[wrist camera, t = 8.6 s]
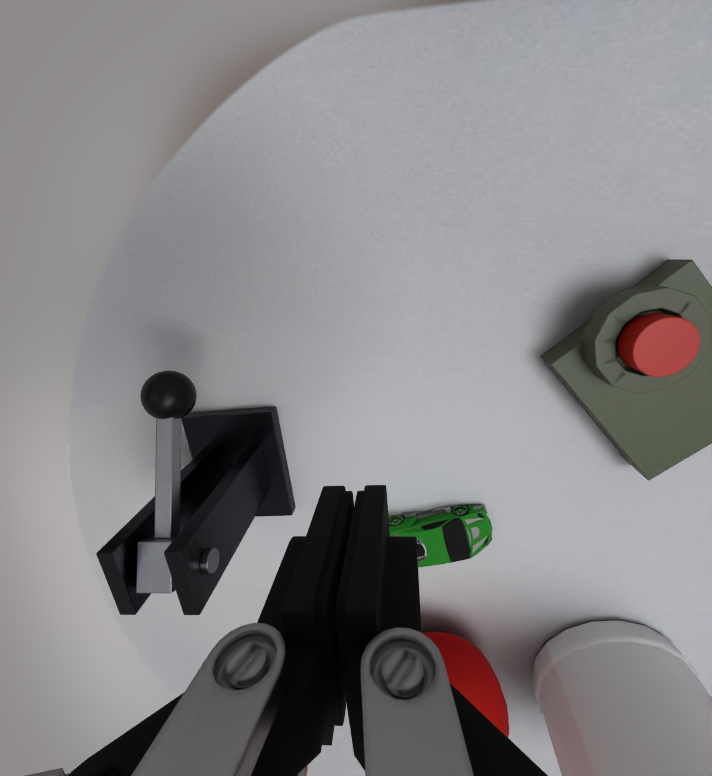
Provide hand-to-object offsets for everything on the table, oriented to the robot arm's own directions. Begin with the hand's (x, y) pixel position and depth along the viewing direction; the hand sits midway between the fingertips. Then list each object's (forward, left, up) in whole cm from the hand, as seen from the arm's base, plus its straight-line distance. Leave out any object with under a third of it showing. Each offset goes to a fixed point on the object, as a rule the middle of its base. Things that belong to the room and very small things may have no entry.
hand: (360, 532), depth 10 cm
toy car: (+10, +14, -21) cm, 27 cm away
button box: (-11, +16, -21) cm, 28 cm away
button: (-12, +12, -17) cm, 24 cm away
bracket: (+16, -3, -21) cm, 26 cm away
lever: (+13, -6, -12) cm, 19 cm away
